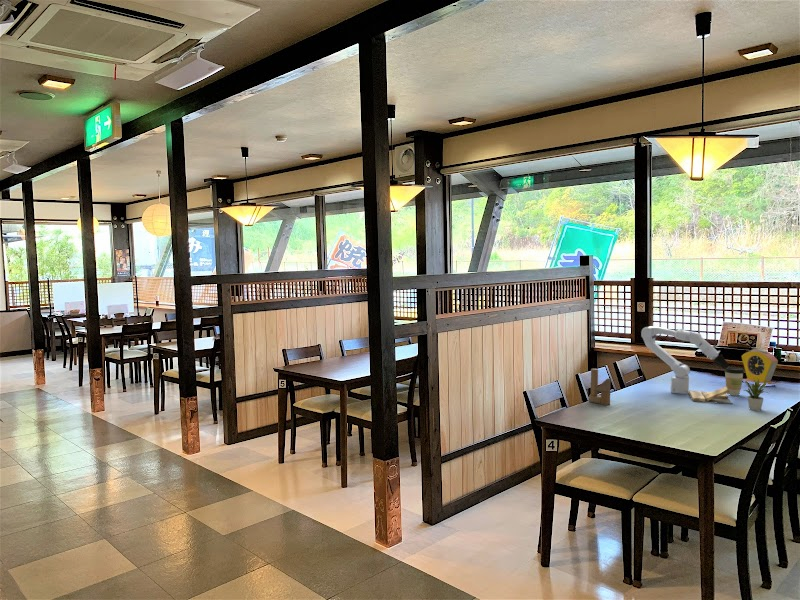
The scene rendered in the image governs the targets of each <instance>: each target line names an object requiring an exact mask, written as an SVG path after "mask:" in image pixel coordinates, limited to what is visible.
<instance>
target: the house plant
mask: <svg viewBox="0 0 800 600" xmlns="http://www.w3.org/2000/svg"><path fill="white" fill-rule="evenodd" d="M753 379H754V378H753ZM745 382H746V383H744V384H745V385H746V386H747V389H744V390H743V391H745V392H747V393H748V394H749V396H747V402H748V404H747V405H748V409H749V408H750V409H753V410H752V411H754V410H760V411H762V406H763V402H764V397H763V396H762V397H761V396H760V395H761V394H763V393H764V394H765V393H768V394H770V393H771V392H769V391H766V392H764V390H765V388H767V387H766V386H765V385H766V383H768V382H766V383H764V384H763V385H762V386H760V385H761V384H759V379H758V380H757V381H756V382H755V380H754V382H755V385H754V384H749V383H748V382H747V381H745ZM773 383H774V382H772V383H768V384H773ZM764 386H765V387H764ZM764 394H763V395H764ZM750 409H749V410H750Z"/></svg>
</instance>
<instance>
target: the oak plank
mask: <svg viewBox="0 0 800 600" xmlns="http://www.w3.org/2000/svg"><path fill="white" fill-rule="evenodd" d="M709 392H710V393H708V394H705V395H704V396H705V398H706V400H707V401H709V400H711V399H714V398H716V397H719V396H721V395H724V394H726V395H727V393H729V392H730V391H729V390H728V388H727V387H726V385H725V386H724V387H723V386H722V387H721V388H717V389H715V390H713V391H709Z"/></svg>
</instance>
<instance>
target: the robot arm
mask: <svg viewBox="0 0 800 600" xmlns="http://www.w3.org/2000/svg"><path fill="white" fill-rule="evenodd" d="M640 333H641V336H640V337H641V338H642V340H643V342H644V344H645V346H646V348H647V349H648V350H650V351H651V352H652V353H653V354H655V355H656V356H657V358H660V360H662V361H663V362H664V363H665V364H666V365H668V366H669V367H670V369H671V371H673V373H674V376H671V377H670V391H671V393H672V394H682V393H684V395H689V389H690V385H689V384H690V376H689V374H690V373H691V369H690V368H691V367H690V366H688V365H687V364H685V363H683V362H681V361H679V360H677V359H676V358H675V357H673V355H671V354H670V353H669V352H667V351H666V350H665V349H664V348H662V346H660V345H659V344H658V343H657V342H656V338H657V337H656V336H657V335H666V336H671V337H674V338H675V339H676V340H679V341H680V340H681V341H684V342H689V343H690V344H693V345H695V346H696V348H697V349H699V351H701V352H702V353H703V354H704V355H705V356H707V358H708V359H709V360H711V361H712V360H713V363H712V364H715V365H717V366H718V367H721V368H722V369H723V370H725V369H726V368H728V367H729V366H730V364H729V363H728V362H727V360H726V358H725V357H724V355H723V354H722V353H721V354H720V352H721V350H717V349H716V348H715V347H714V346H712V344H710V343H709V342H708V341H707V340H706V339H705V338H703V336H702V334H701V333H699V332H697V331H692V330H690V331H689V330H685V329H683V328H679V329H677V330H673V329H670V328H666V327H660V326H653V325H650V326H645V327H643V328H642V329H641V331H640ZM719 354H720V355H719Z"/></svg>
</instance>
